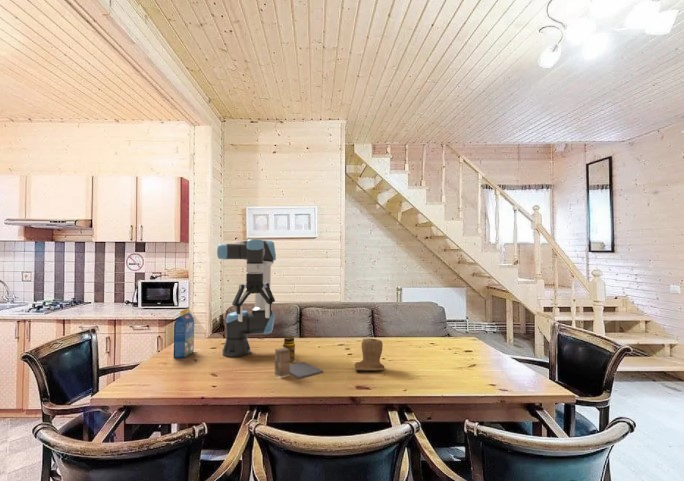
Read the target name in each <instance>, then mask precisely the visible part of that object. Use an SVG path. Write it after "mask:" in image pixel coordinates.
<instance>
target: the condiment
mask: <svg viewBox="0 0 684 481" xmlns="http://www.w3.org/2000/svg"><path fill="white" fill-rule="evenodd" d="M283 340H284V341H283V346H282V348H284V347H285V348H287V349H289V350H290V364H291V363H298V360H296V359H295V358H296V356H295V355H296V353H295V352H296V348H295V347H296V343H295V338H294V337H292V336H291V337H290V336H287V337H284V339H283Z"/></svg>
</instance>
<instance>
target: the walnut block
mask: <svg viewBox="0 0 684 481" xmlns="http://www.w3.org/2000/svg"><path fill="white" fill-rule="evenodd" d="M290 365H291V363H290V350H289V349H287V348H285V347H284V348H283V347H279V348H274V376H276V377H277V378H280V379H282V378H286V377H290V376H291V375H290Z"/></svg>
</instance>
